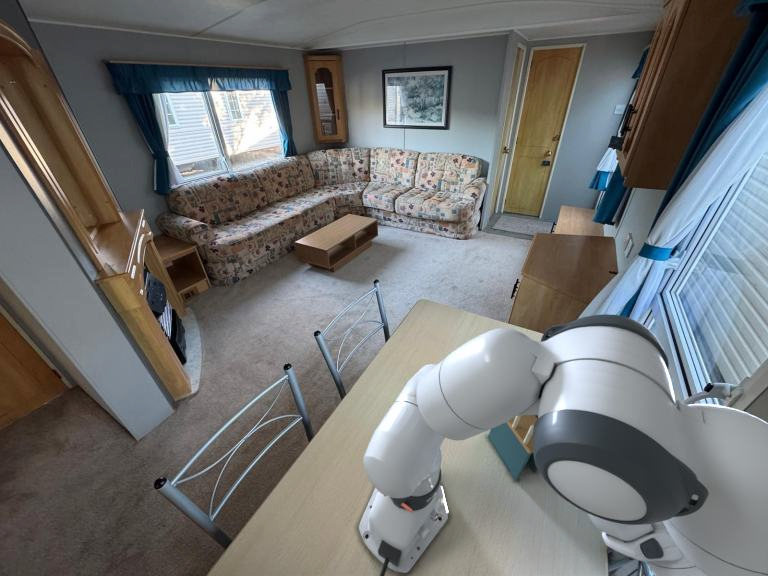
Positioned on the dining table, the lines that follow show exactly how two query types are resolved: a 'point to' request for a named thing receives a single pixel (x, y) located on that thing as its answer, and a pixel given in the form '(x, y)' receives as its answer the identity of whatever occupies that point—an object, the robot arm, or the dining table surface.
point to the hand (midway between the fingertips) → (612, 439)
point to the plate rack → (515, 443)
